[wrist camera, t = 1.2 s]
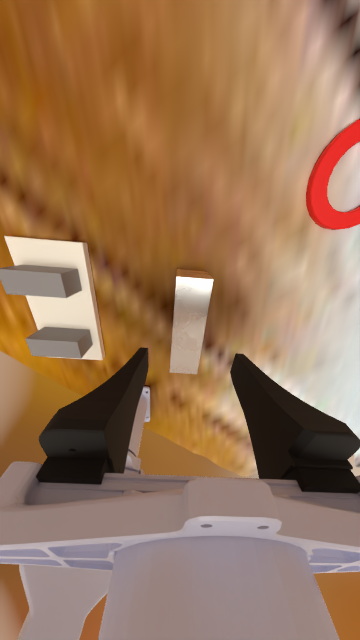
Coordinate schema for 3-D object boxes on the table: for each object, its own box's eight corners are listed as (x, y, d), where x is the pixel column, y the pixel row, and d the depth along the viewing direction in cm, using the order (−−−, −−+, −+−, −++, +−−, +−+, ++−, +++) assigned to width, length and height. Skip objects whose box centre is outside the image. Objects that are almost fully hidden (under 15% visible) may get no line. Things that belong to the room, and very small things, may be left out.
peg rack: (105, 355, 25) (92, 375, 21) (52, 352, 25) (31, 371, 21) (87, 242, 18) (63, 243, 14) (13, 236, 18) (-30, 235, 14)
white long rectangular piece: (193, 350, 25) (196, 374, 20) (171, 348, 25) (169, 372, 20) (205, 270, 20) (213, 279, 15) (176, 268, 19) (176, 276, 15)
